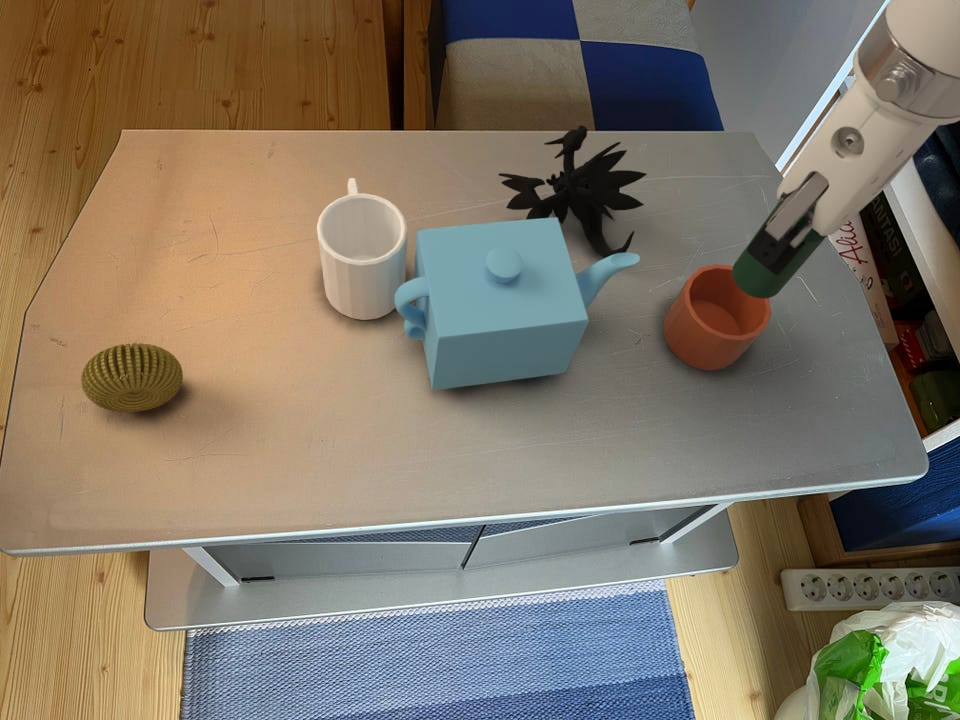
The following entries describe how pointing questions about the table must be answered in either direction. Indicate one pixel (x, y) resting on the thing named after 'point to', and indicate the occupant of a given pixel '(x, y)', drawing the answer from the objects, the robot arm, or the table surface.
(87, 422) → the table surface
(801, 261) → the bottle
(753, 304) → the cup
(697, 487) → the table surface
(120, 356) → the sculpture
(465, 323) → the teapot
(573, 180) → the figurine
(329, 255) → the mug
